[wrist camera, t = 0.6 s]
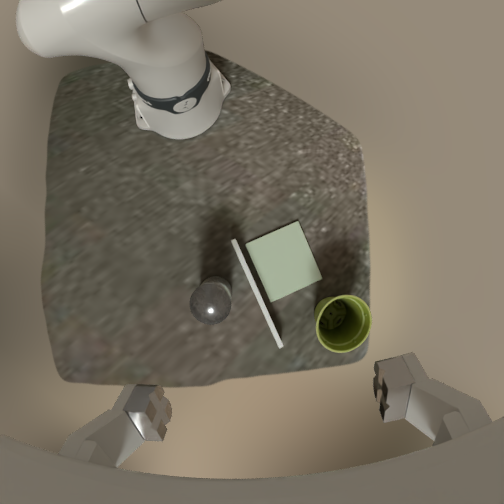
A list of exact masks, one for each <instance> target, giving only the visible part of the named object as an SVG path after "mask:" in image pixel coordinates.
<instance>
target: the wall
mask: <svg viewBox="0 0 504 504" xmlns="http://www.w3.org/2000/svg"><path fill="white" fill-rule="evenodd" d="M231 242H232V244H233V246H234V249H235V251H236V253H237V255H238V258H239V260H240V262H241V264H242V267H243V269H244V271H245V273H246V276H247V278H248V280H249V282H250V285H251V287H252V289H253V291H254V294H255V296H256V298H257V300H258V302H259V305H260V307H261V309H262V311H263V314H264V316H265V318H266V320H267V322H268V325H269V327H270V329H271V331H272V333H273V336H274V338H275V340H276V342H277V344H278V346H279V348H281V347H283V344H282V342H281V339H280V337H279V335H278V333H277V331H276V328H275V326H274V324H273V322H272V319H271V317H270V315H269V313H268V310H267V308H266V306H265V304H264V302H263V299H262V297H261V295H260V293H259V290H258V288H257V286H256V284H255V281H254V279H253V277H252V275H251V272H250V270H249V268H248V266H247V263H246V261H245V259H244V257H243V254H242V252H241V250H240V248H239V245H238V243H237V241H236V239H234V240H231Z"/></svg>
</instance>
